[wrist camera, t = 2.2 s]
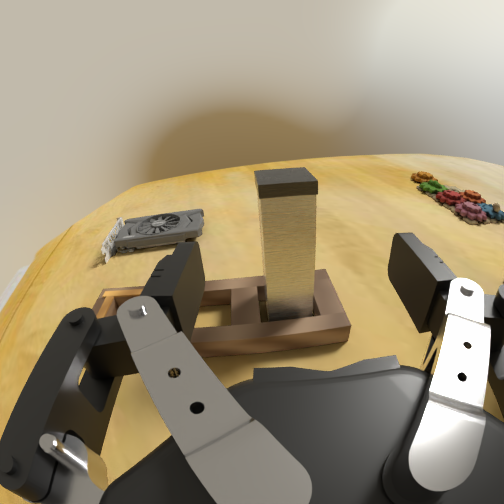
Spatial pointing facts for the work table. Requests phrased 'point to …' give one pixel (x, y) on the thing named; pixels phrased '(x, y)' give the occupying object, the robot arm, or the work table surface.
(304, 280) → the peg
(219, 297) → the rail
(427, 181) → the gear puzzle
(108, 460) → the work table surface
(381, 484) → the robot arm
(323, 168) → the work table surface
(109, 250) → the graphics card
